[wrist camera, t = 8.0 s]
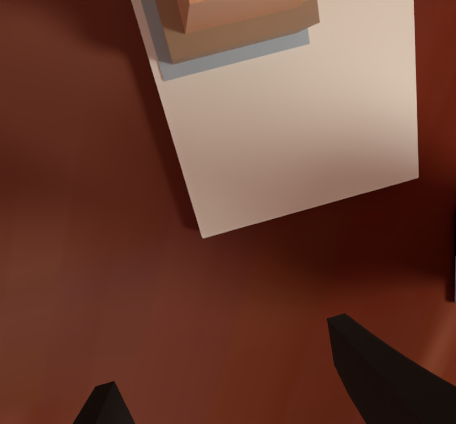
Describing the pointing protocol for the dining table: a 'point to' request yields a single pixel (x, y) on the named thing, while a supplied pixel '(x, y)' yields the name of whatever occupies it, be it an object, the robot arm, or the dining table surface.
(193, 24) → the terracotta block
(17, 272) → the dining table surface
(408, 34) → the board
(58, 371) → the dining table surface
